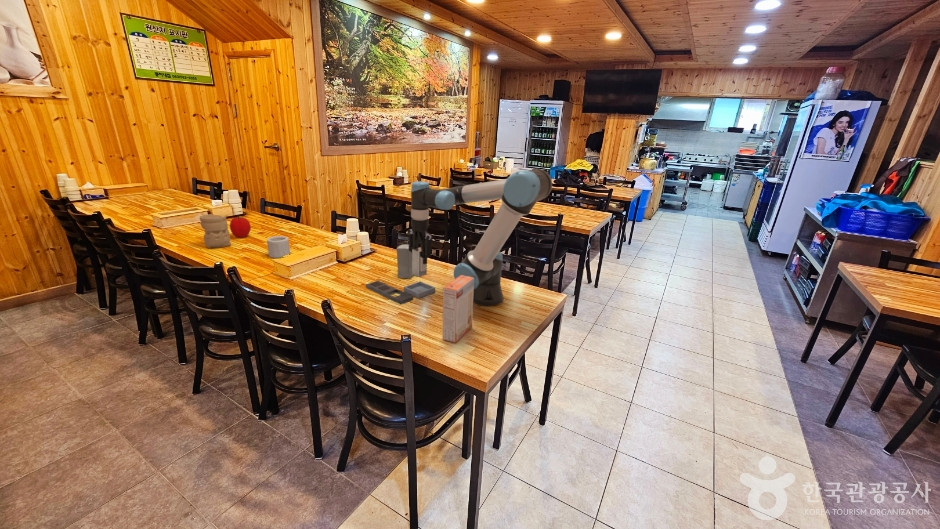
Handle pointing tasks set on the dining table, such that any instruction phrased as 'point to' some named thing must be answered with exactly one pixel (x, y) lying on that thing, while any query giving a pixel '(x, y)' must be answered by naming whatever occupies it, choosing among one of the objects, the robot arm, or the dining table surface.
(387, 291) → the rail
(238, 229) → the red apple
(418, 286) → the parts tray
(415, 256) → the block
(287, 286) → the dining table surface
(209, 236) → the container
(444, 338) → the cracker box
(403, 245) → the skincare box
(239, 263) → the dining table surface
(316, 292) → the dining table surface
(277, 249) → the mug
